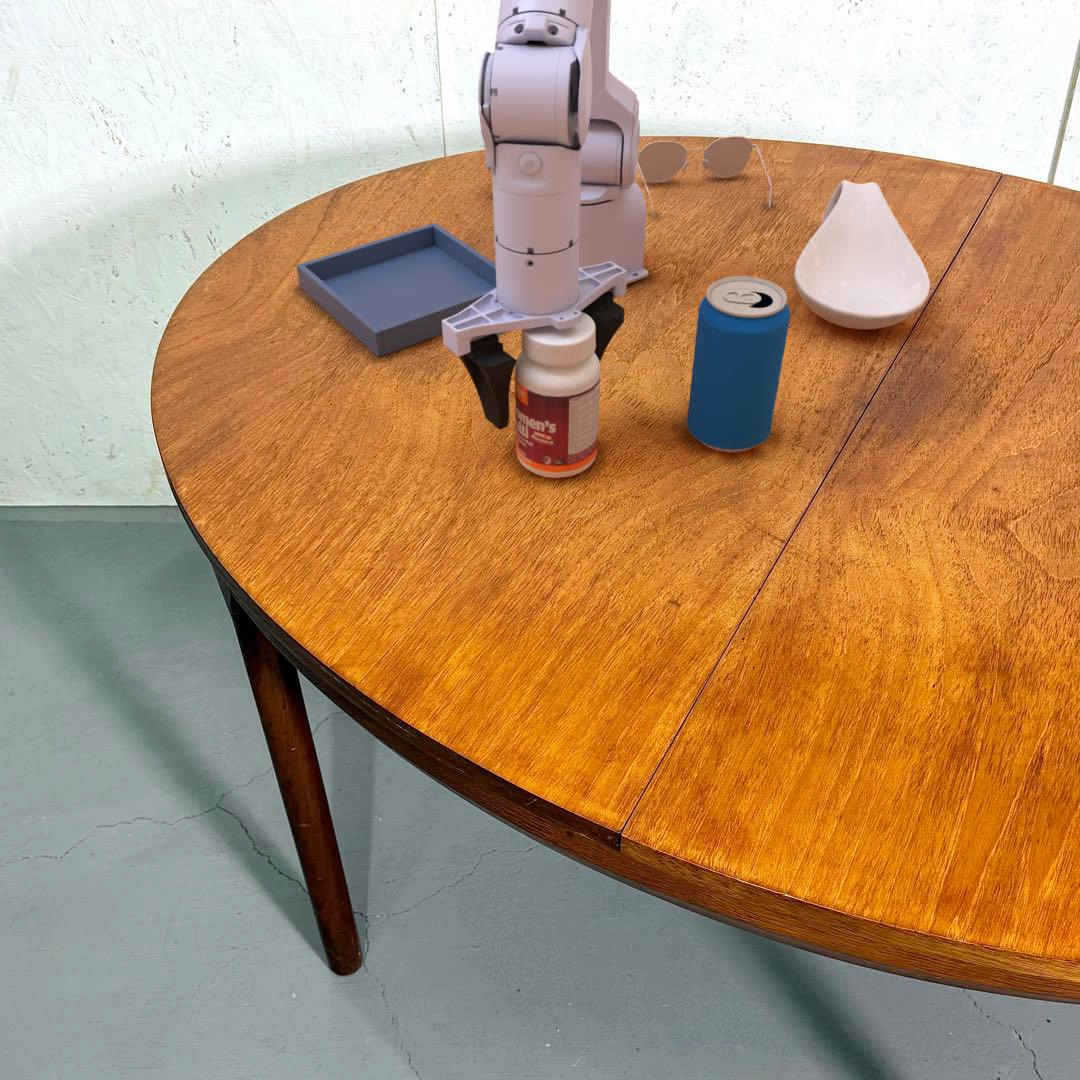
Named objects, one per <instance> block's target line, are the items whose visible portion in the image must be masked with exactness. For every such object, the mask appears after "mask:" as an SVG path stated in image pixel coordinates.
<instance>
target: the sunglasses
mask: <svg viewBox="0 0 1080 1080" xmlns="http://www.w3.org/2000/svg"><path fill="white" fill-rule="evenodd" d="M753 148H755V149H756V152H757V153H758V156H759V159H760V161H761V163H762V166H763V168H764V171H765V173H766V177H767V180H768V183H769V197H768V208H771V204H772V203H771V202H772V187H773V186H772V182H771V179H770V176H769V174H768V172H767V168H766V166H765V162H764V160H763V157H762V155H761V151H760V148H759V147H758V145H757V144H756V143H754V144H753V143H752V142H751V140H750V139H749V138H747V137H746V136H742V135H732V136H731V135H730V136H724V137H720V138H717V139H715V140H713V141H712V142H711V143H709V144H708V145H707V147H706V148H691V149H688V150H687V148H686V147H685V146H684V145H683V144H681V142H677V141H673V140H659V141H658V140H657V141H652V142H650V143H647V144H646V145H645V146H643V147H642V148H641V150H639V152H638V164H637V169H638V172H639V174H640V177H641V178H642V181H643V183H644V186H645V189H646V191H647V194H648V197H649V200H650V201H649V202H650V205H651V211H652V216H653V217H655V215H654V207H653V202H652V197H651V193H650V191H649V187H648V185H647V184H646V182H647V183H653V184H660V183H664V182H667V181H669V180H671V179H672V178H674V177H675V176H676V175H677V174H678V173H680V172H682V173H684V171H685V170H686V169H687V168H688V166H689V164H690V160H688V159H687V158H688V154H689V153H690V152H693V151H704V152H703V159H702V160H701V164H702V167H703V169H704V170H705V171H708V172H709V174H711V176H714V177H716V178H720V179H727V178H732V177H735V176H737V175H738V174H740V173H741V172H742V171H744V169H745V168H746V166H748V165H747V164H748V162H749V161H750V158H751V156H752V152H753Z"/></svg>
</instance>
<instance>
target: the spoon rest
mask: <svg viewBox="0 0 1080 1080" xmlns="http://www.w3.org/2000/svg"><path fill="white" fill-rule="evenodd" d="M834 189H835V190H834V191H833V193H832V195H831V196H830V198H829V200H828V202H827V205H826V207H825V209H824V213H823V216H822V219H821V225H820V226H819V227H818V229H817V230H816V231H815V232H814V234H813V235H812V236H811V238H810V239H809V241H808V242H807V244H806V245H805V247H804V248H803V249H802V251H801V253H800V254H799V257H798V258H797V260H796V263H795V266H794V271H793V273H794V274H793V277H794V278H793V279H794V284H795V287H796V290H797V293H798V294H799V297H800V298H801V299H802V300H803V302H804V303H805V305H806V306H807V307H808V309H809V310H810V311H812V312H813V313H814V314H816V315H817V316H818V317H819V318H821V319H823V320H825V321H827V322H829V323H831V324H833V325H836V326H840V327H843V328H848V329H853V330H877V329H883V328H888V327H891V326H894V325H897V324H899V323H902V322H904V321H905V320H907V319H908V318H911V317H912V316H913V315H915V314H916V313H917V312H918V311H919V310H920V309H922V307H923V306H924V304H925V303H926V302H927V300H928V298H929V296H930V292H931V279H930V276H929V274H928V271H927V269H926V266H925V265H924V262H923V261H922V259H921V257H920V255H919V254H918V252H917V251H916V248H915V247H914V245H913V244H912V242H911V241H910V240H909V238H908V236H907V234H906V233H905V231H904V230H903V227H901V225H900V223H899V222H898V219H897V218H896V217H895V214H894V213H893V211H892V209H891V208H890V206H889V204H888V202H887V200H886V198H885V196H884V194H883V191H882V190H881V188H880V185H878V183H877V182H874V181H871V182H866V183H855V182H852V181H849V180H848V179H847V180H846V179H844V180H842V181H840V183H839V184H838V185H837V186H836V188H834Z"/></svg>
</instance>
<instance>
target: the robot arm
mask: <svg viewBox="0 0 1080 1080" xmlns="http://www.w3.org/2000/svg"><path fill="white" fill-rule="evenodd" d="M611 7H612V0H500V4H499V10H498V11H499V12H498V19H497V27H496V33H495V34H496V35H495V42H494V52H490V51H489V50H487V51H485V52H484V54H483V55H482V59H481V63H480V68H479V74H478V84H477V85H478V86H477V107H478V108H477V109H478V117H479V124H480V125H479V126H480V131H481V132H480V133H481V136H482V140H483V144H484V145H483V146H484V153H485V167H486V171H487V173H490V174H492V179H491V181H492V205H493V206H492V207H493V208H492V210H493V211H492V212H493V231H494V232H493V233H494V234H493V235H494V258H495V262H494V263H495V264H496V288H495V289H493V290H492V291H490V292H489V293H488V294H486V295H485V296H483V297H482V298H480V299H479V300H477V301H476V302H474V303H473V304H471V305H470V306H469V307H467V308H466V309H464V310H463V311H461V312H459V313H458V314H456V315H454V316H451V317H449V318H446V319H444V320H442V331H443V334H442V343H443V346H445V347H446V348H447V349H448V350H449V351H450V352H452V353H453V354H454V355H456V356H457V357H458V358H459V359H460V361H461V362H462V364H463V366H464V368H465V369H466V371H467V373H468V375H469V377H470V378H471V380H472V383H473V385H474V387H475V390H476V392H477V395H478V397H479V400H480V404H481V407H482V411H483V414H484V418H485V419H486V420H487V421H488V422H489V423H490V424H491V425H493V426H494V427H495V428H497V430H503V429H505V428H508V426H509V423H510V389H511V382H512V377H513V372H514V370H515V364H516V362H517V358H514V357H513V356H512V355H511V354H509V353H508V352H507V351H506V350H504V343H503V342H500V336H502V335H506V334H508V333H510V332H515V331H522V330H523V329H530V328H536V327H543V326H550V325H551V326H553V327H555V328H557V329H566V328H569V327H571V326H574V325H577V324H579V323H580V322H581V312H583V313H585V314H587V315H588V316H589V317H591V318H592V320H593V321H594V323H595V327H596V336H595V340H596V348H595V351H594V353H595V354H596V356H597V357H598V359H599V362H600V363H601V361H602V359H603V356H604V354H605V352H606V351H607V347H608V346H609V344H610V342H611V341H612V340H613V337H614V336H615V334H616V333H617V331H618V330H619V329H620V328H621V327H622V325H623V324H624V323H625V308H624V307H623V306H622V305H620V304H618V303H617V302H615V301H614V299H619V298H621V297H623V296H626V295H627V285H628V284H631V283H634V282H637V281H639V280H643V279H645V278H648V277H649V273H650V272H649V271H648V269H645V268H644V262H645V245H646V231H647V229H646V228H647V204H646V200H645V196H644V193H643V191H642V188H641V187H640V186H639V184H638V182H636V180H637V179H636V178H637V172H638V166H637V164H638V157H639V155H638V152H640V135H641V134H640V132H641V123H640V122H641V121H640V119H639V117H640V101H639V100H638V99H637V97H638V95H637V93H636V92H635V91H634V90H632V89H631V88H630V87H629V86H627V85H626V84H625V83H624V82H623V81H621V80H620V79H618V78H617V77H616V76H615V75H614V74H613V73H612V72H611V71H610V70H609V69H610V44H611V43H610V41H611V15H612V12H611V11H612V8H611ZM580 311H581V312H580Z"/></svg>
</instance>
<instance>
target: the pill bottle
mask: <svg viewBox="0 0 1080 1080" xmlns="http://www.w3.org/2000/svg"><path fill="white" fill-rule="evenodd" d="M580 312H581V311H580ZM595 336H596V327H595V323H594V321H593V320H592V318H591V317H589V316H588V315H587V314H585V313H583V312H581V322H580V323H579V324H577V325H574V326H571V327H569V328H566V329H557V328H555V327H553V326H551V325H550V326H543V327H536V328H530V329H523V330H521V343H520V344H521V345H520V346H521V352H520V353H519V355H518V356H517V357H516V360H517V362H516V364H515V367H514V394H515V395H514V409H515V410H514V413H515V416H514V417H515V449H516V450H515V451H516V457H517V459H518V461H519V463H520V464H521V465H522V466H523V467H524V468H525V469H526V470H527V471H529V472H531V473H533V474H535V475H537V476H541V477H544V478H552V479H561V478H567V477H572V476H576V475H578V474H580V473H583V472H584V471H586V470H587V469H588V468H590V467H591V466H592V464H593V463H594V461H595V460H596V458H597V453H598V438H599V437H598V435H599V416H600V415H599V414H600V413H599V412H600V393H601V392H600V391H601V375H602V374H601V373H602V372H601V361H600V362H599V359H598V357H597V356H596V354H595V353H594V351H595V348H596V340H595Z"/></svg>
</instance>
